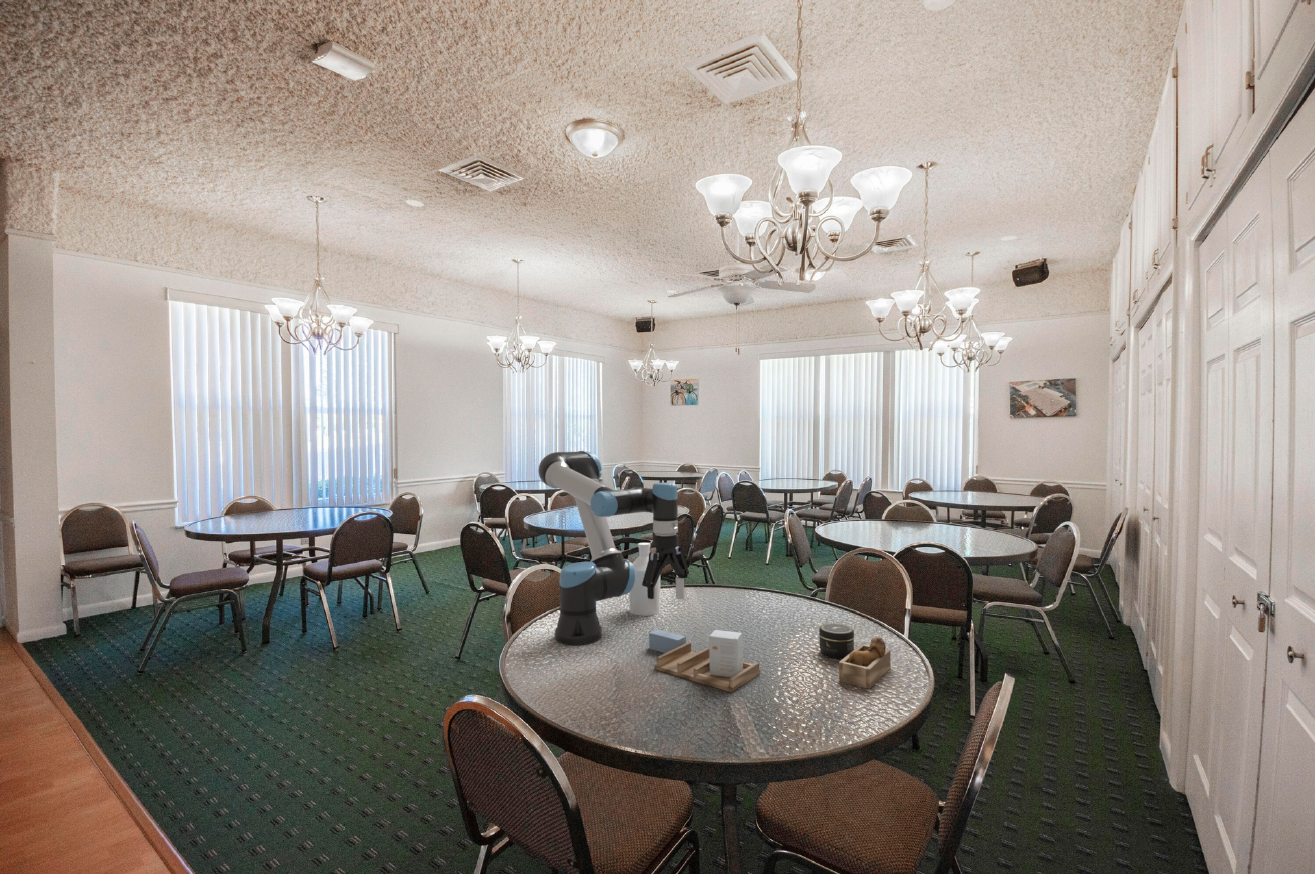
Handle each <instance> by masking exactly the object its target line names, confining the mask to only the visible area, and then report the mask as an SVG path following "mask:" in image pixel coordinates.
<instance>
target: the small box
mask: <svg viewBox="0 0 1315 874" xmlns="http://www.w3.org/2000/svg"><path fill="white" fill-rule="evenodd" d="M708 647H709V660H710V675H716V676H723V677H731V678H732V677H733V676H735V675H736V674H738V673H739V672H741V671H743V662H744V653H743V649H744V648H743V632H738V631H728V630H719V629H718V630H717V629H715V630H713V631H712V632H711V634H709V636H708Z"/></svg>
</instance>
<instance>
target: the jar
mask: <svg viewBox="0 0 1315 874" xmlns="http://www.w3.org/2000/svg"><path fill="white" fill-rule="evenodd" d="M854 630H855V629H854V628H853V627H851V626H849V625H847V624H843V623H836V622H835V623H834V622H833V623H829V622H828V623H824V624H822V625H820V626H819V628H818V631H819V632H818V637H819V643H818V644H819V650H820V652H821V654H822V655H823V656H824V657H827V658H829V659H835V660H842V659H844V658H845V657H846V656H847V655H849V654H850V653H851V652H852V651H853V650H855V631H854Z"/></svg>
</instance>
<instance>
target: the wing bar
mask: <svg viewBox="0 0 1315 874" xmlns="http://www.w3.org/2000/svg"><path fill="white" fill-rule="evenodd" d="M648 643H649V644H648V646H649V647H648V649H650V650H653V651H656V652H657V651H658V652H660V653H663V654H665V653H667V652H669V651H671V650H673V649H675V648H677V647H679V646H681V645H683V644H686V643H687V636H684V635H681V634H678V633H673V632H670V631H665V630H661V629H655V630H652V631H650V632H649V633H648Z"/></svg>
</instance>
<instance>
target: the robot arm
mask: <svg viewBox="0 0 1315 874" xmlns="http://www.w3.org/2000/svg"><path fill="white" fill-rule="evenodd" d="M602 469H603V467H602V463H601V461H600V459H599V457H598V456H597V455H596V454H595V453H593V452H591V451H584V450H579V451H556V452H552V453H549V454H547V455H545V456H543V459H541V460H540V463H539V465H538V471H537V472H538V476H539V478H540V481H542V483H543V484H545V485H546V486H548V487H550V488H551V489H556V490H557V489H560V490H562V491H563V492H565V493H567V494H569V495H571V496H572V497H574V500H575V503H576V506H577V510H578V513H579V517H580V521H581V524H582V527H583V530H584V534H585V536H586V541H587V544H588V548H589V550H590V551H589V552H590V554H591V559H590V561H581V562H573V563H570V564H567V565H566V566H563V568H562V569H561V570H560V574H559V582H558V584H559V617H558V621H557V625H556V628H555V630H554V640H555V641H556V643H557V642H558V643H560V644H564V645H571V646H575V645H576V646H579V645H589V644H592V643H594V642H597V641H599V640H600V639H601V638H602V636H603V630H602V626H601V624H600V620H599V617H598V614H597V602H601V601H603V600H608V599H612V598H616V597H617V598H619V597H621V596H624V595H627V594H629V592H630V591H631V590H632V588H633V586H634V582H635V570H634V566H633V564H632V563H633V562H631V561H630V560H629V559H626V558H624V556H623V553H622V552H621V551H620V550H617V548H616V545H615V543H614V542H615V541H614V539H613V535H612V532H611V530H610V526H609V523H608V519H607V518H609V517H614V516H622V515H627V514H628V515H629V514H637V513H638V514H639V513H650V514H651V513H652V515H653V516H652V532H653V534H654V535H653V537H652V538H653V541H652V542H653V547H654V548H655V549H656V550H655V553H654V552H650V553H649V561H648V564H647V568H646V571H645V575H644V579H643V582H642V586H645V587H647V593H648V594H647V595H648V609H652V610H657V587H655V585H656V583H657V581H658V578H659V576H660V577H661V573H662V571H663V569H665V567H666V566H669V565H670V567H671V569H672V570H673V571H674V573H675V575H676V576H677V577H675V599H676V600H681V601H684V600H685V586H686V585H685V579H688V575H689V573H690V572H689V571H690V570H689V568H688V564H687V563H686V559H685V556H684V552H683V551H684V550H683V547H682V546H679V534H677V533H679V524H678V520H679V515H678V513H679V510H678V508H679V507H678V498H679V495H678V486H677V484H676V483H674V482H655V483H653V484H652V488H648V487H642V486H639V487H638V486H637V487H631V488H629V489H628V488H627V489H613V488H610V487H607V486H606V485H604V484H602V483H600V481H599V480H600V479H601V476H602V473H603V472H602V471H603V470H602Z"/></svg>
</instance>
